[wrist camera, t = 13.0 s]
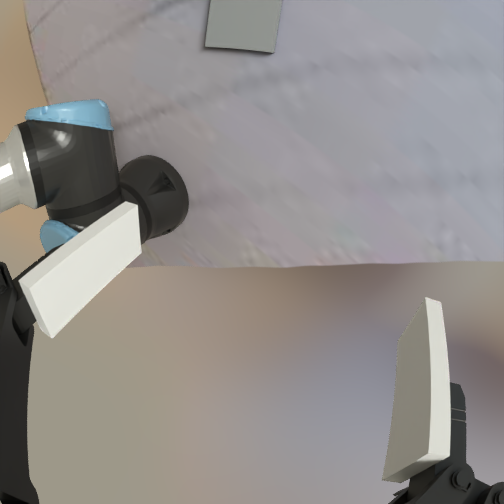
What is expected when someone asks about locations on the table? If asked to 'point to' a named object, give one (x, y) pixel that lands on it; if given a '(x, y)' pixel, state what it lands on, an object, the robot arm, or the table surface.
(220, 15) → the mat
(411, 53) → the table surface
